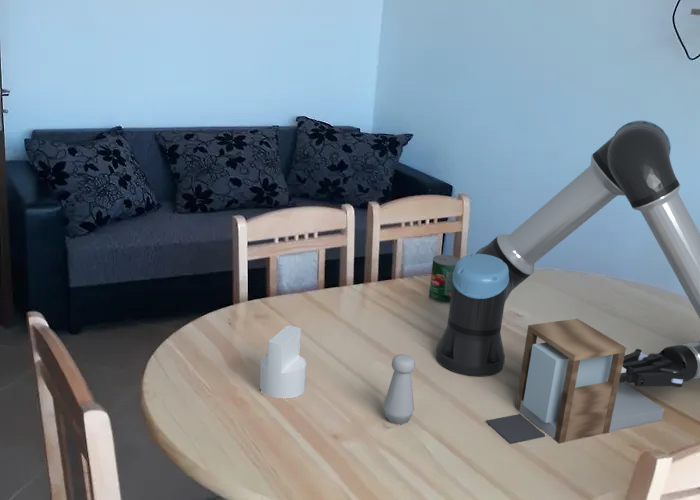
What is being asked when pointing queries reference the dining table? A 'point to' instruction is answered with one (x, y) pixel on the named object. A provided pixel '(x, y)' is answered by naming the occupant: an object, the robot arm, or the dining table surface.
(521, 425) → the dark grey square plate
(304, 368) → the cylinder with rectangular tab
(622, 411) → the runway
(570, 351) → the tunnel
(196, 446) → the dining table surface
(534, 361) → the block
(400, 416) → the salt shaker
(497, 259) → the robot arm
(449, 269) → the canned tomato
